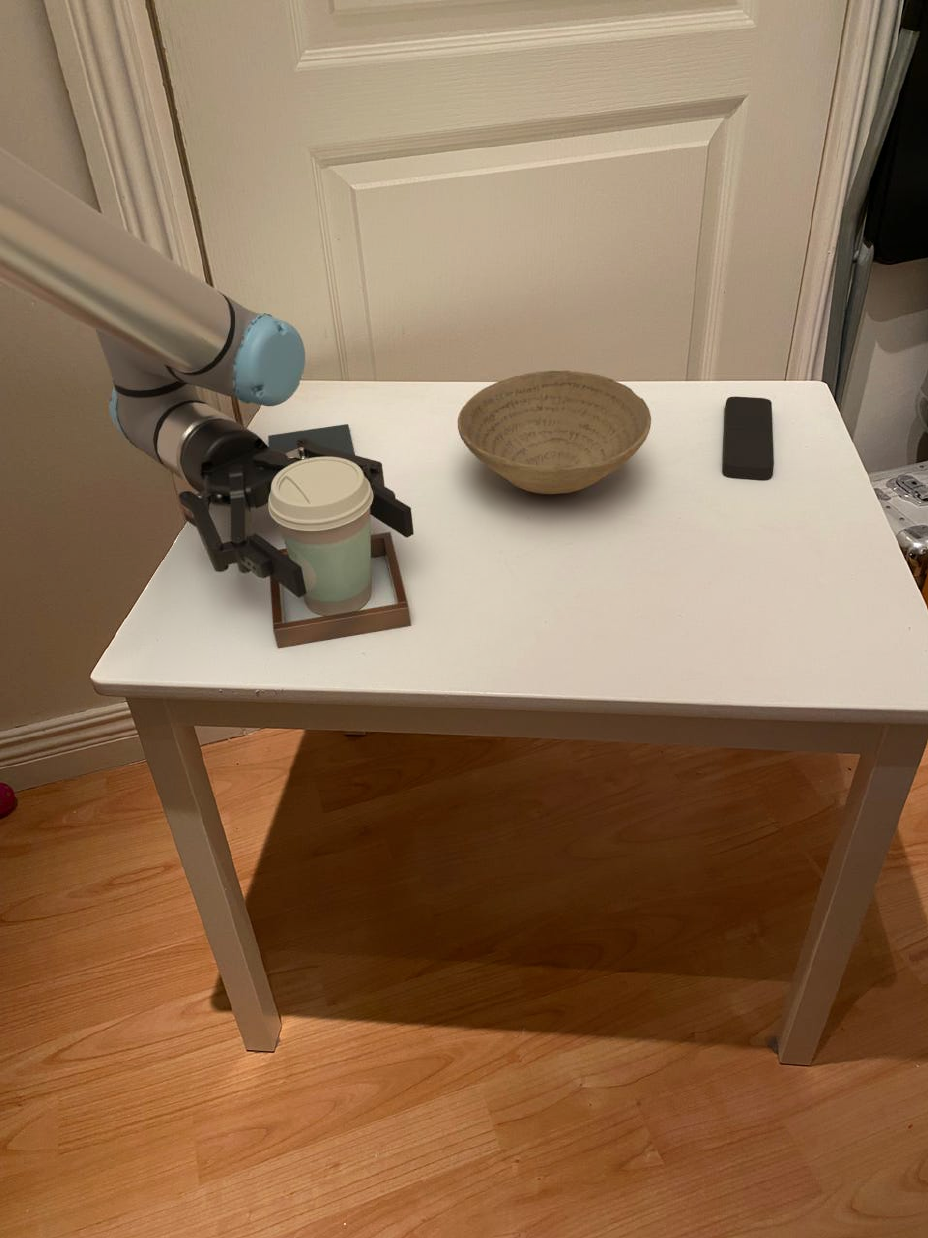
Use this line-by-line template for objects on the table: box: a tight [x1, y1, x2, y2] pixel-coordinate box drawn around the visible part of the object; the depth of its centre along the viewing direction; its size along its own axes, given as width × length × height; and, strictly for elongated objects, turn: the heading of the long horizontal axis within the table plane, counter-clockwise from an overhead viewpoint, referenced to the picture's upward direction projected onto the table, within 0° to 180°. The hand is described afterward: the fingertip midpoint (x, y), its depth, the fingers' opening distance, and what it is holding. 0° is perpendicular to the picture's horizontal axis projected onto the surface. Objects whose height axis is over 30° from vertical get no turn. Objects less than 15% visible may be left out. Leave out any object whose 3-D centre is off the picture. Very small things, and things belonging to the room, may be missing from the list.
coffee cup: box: [268, 457, 373, 616], centre depth 79 cm, size 8×8×12 cm
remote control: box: [721, 396, 775, 481], centre depth 98 cm, size 5×2×15 cm
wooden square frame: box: [269, 531, 412, 649], centre depth 82 cm, size 11×11×2 cm
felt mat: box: [267, 423, 356, 455], centre depth 102 cm, size 9×9×1 cm
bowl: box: [457, 370, 652, 495], centre depth 92 cm, size 18×18×8 cm
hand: (356, 551), depth 76 cm, fingers open, 10 cm apart
